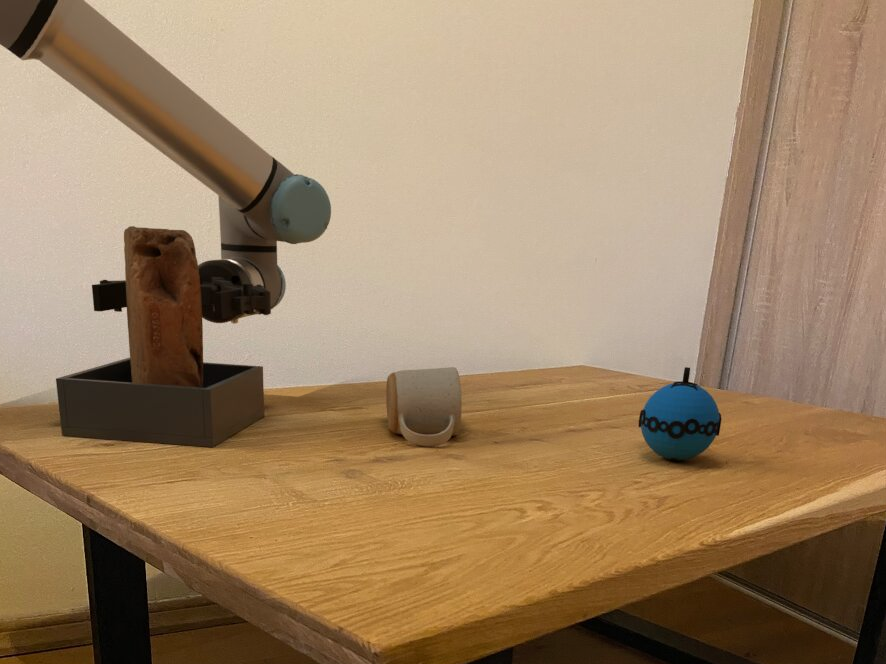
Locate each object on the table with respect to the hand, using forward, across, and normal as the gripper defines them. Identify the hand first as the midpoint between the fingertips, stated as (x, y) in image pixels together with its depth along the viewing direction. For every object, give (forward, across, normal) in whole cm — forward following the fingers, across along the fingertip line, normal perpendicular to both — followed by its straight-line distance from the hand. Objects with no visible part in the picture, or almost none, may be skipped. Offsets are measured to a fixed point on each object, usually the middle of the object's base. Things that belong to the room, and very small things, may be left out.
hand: (156, 302), depth 99 cm
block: (-1, 0, -13) cm, 13 cm away
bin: (-1, 0, -14) cm, 14 cm away
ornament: (-4, -57, -14) cm, 59 cm away
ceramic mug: (-6, -29, -14) cm, 33 cm away
